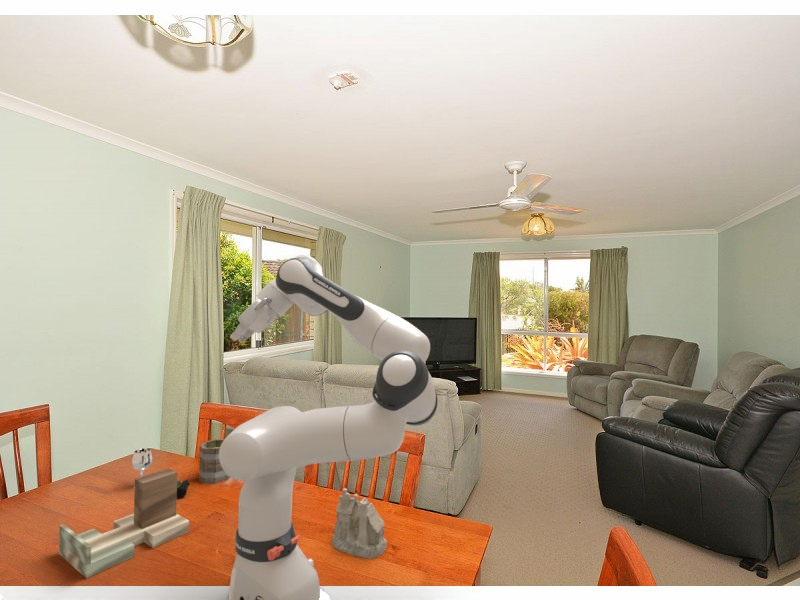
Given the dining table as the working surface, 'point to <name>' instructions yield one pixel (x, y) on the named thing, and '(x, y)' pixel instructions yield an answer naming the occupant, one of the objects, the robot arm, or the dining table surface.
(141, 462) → the wineglass
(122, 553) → the cream block stand
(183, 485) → the tape measure
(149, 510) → the walnut block
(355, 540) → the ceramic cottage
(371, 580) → the dining table surface
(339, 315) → the robot arm
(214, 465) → the mug
